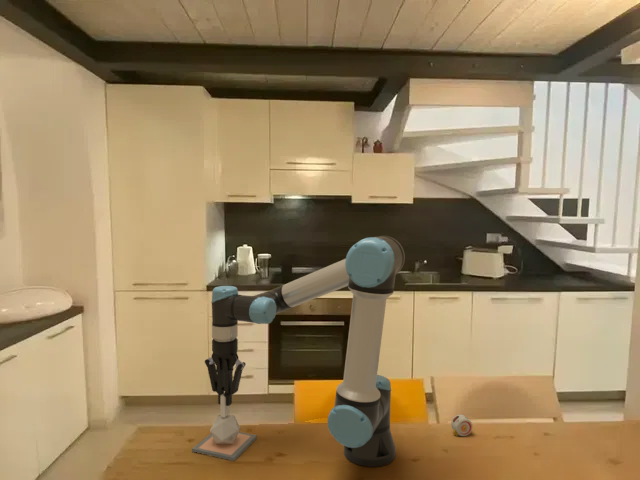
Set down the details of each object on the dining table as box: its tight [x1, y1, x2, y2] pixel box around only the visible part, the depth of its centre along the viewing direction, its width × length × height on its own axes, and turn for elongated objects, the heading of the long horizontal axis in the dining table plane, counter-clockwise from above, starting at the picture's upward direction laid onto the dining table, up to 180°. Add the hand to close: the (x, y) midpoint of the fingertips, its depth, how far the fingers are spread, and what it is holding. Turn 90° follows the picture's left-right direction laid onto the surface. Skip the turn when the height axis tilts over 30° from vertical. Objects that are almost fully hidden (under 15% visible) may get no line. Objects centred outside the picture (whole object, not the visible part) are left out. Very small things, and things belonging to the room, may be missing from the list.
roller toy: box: [450, 414, 473, 437], centre depth 147 cm, size 4×6×6 cm
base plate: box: [191, 431, 258, 462], centre depth 139 cm, size 14×14×1 cm
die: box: [209, 414, 241, 444], centre depth 139 cm, size 8×9×10 cm
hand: (225, 415), depth 139 cm, fingers closed
